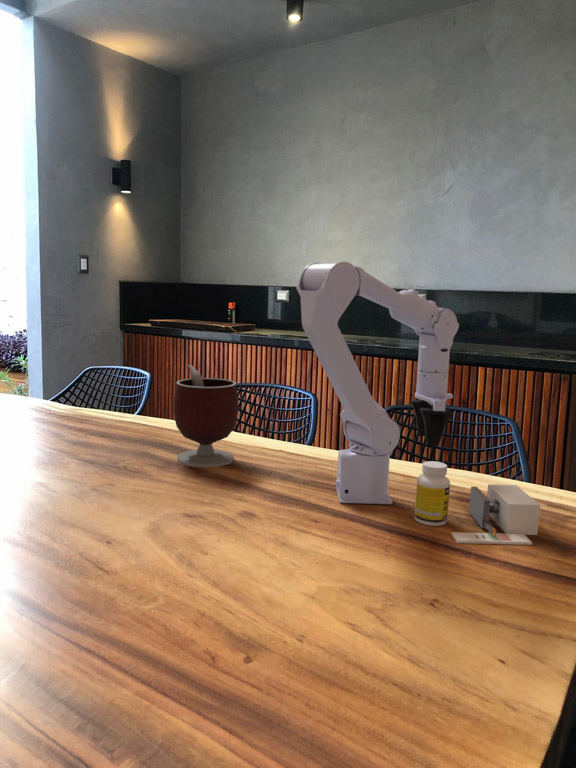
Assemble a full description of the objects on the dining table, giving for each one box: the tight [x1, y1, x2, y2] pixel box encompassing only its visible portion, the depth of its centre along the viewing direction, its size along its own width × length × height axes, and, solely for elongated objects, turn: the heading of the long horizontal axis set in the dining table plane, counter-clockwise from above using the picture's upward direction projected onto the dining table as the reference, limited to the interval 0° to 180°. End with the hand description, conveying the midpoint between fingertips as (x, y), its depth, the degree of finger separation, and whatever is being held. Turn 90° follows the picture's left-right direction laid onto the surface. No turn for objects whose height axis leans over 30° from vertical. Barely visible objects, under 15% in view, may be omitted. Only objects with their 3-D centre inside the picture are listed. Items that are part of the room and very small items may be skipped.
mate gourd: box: [173, 364, 239, 468], centre depth 135 cm, size 16×14×20 cm
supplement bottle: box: [413, 460, 451, 527], centre depth 103 cm, size 5×5×10 cm
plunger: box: [468, 486, 500, 536], centre depth 101 cm, size 8×11×5 cm
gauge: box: [451, 484, 541, 546], centre depth 101 cm, size 14×14×5 cm
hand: (428, 440), depth 119 cm, fingers open, 7 cm apart
